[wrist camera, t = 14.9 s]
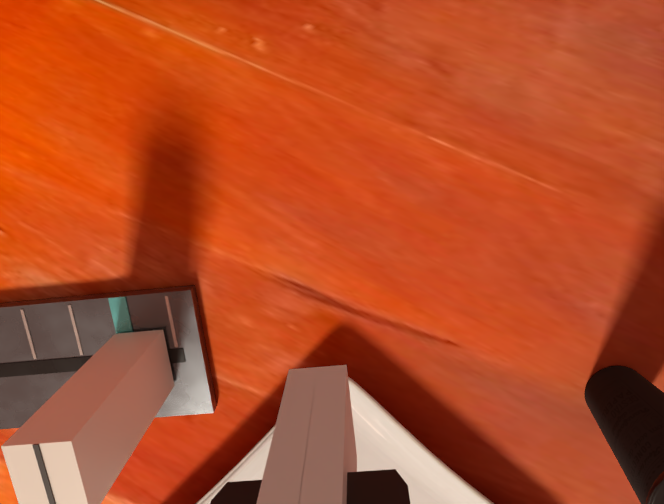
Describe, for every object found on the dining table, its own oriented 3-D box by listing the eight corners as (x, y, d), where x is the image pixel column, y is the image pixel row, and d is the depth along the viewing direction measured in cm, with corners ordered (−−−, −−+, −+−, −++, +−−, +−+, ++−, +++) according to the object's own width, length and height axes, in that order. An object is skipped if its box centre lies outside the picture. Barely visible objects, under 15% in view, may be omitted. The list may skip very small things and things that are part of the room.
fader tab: (127, 389, 46) (23, 523, 32) (114, 333, 45) (0, 447, 30) (174, 385, 46) (91, 519, 31) (163, 329, 45) (70, 442, 30)
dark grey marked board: (-68, 427, 50) (-79, 435, 49) (-107, 313, 47) (-120, 319, 46) (217, 405, 48) (213, 413, 47) (194, 285, 45) (190, 290, 44)
